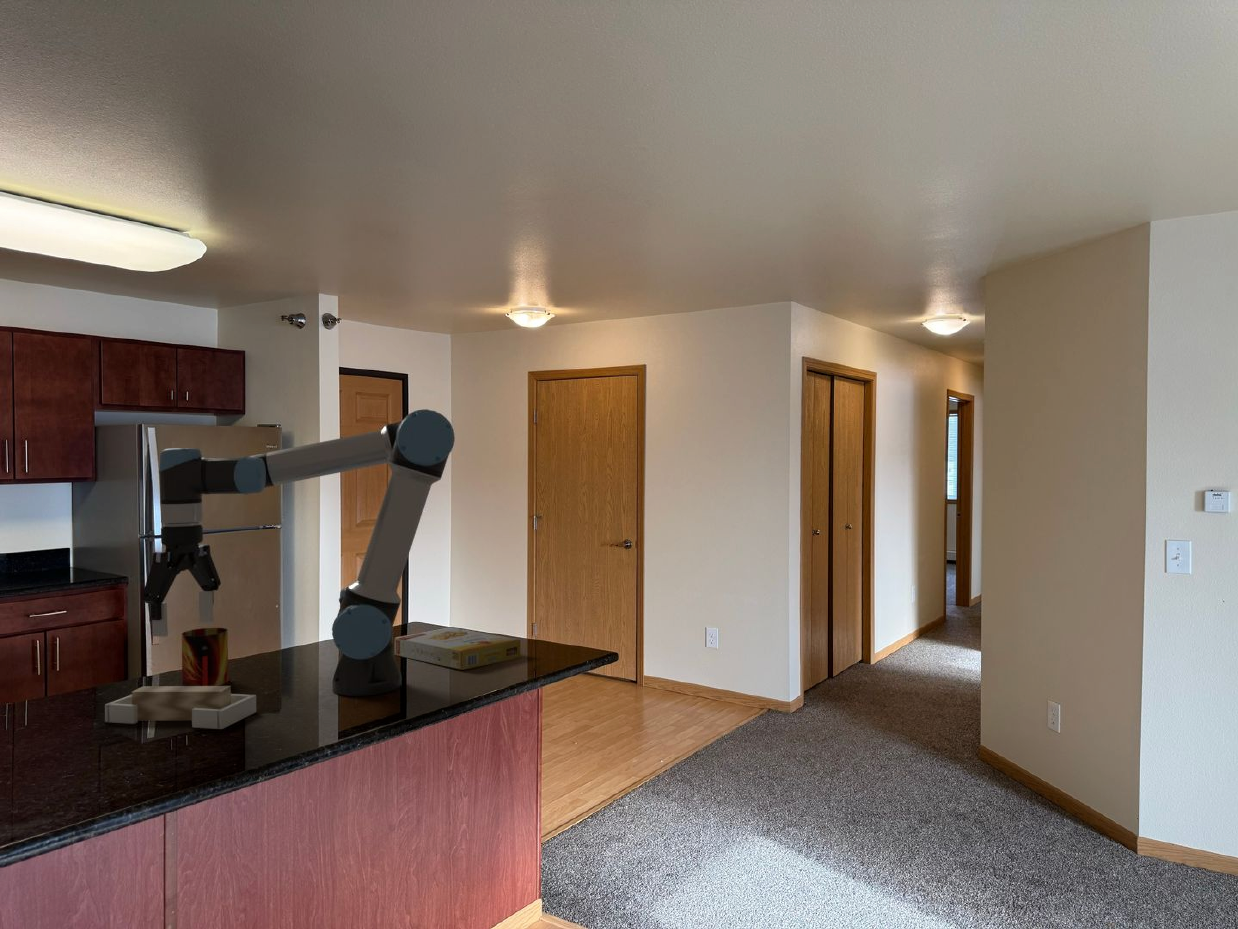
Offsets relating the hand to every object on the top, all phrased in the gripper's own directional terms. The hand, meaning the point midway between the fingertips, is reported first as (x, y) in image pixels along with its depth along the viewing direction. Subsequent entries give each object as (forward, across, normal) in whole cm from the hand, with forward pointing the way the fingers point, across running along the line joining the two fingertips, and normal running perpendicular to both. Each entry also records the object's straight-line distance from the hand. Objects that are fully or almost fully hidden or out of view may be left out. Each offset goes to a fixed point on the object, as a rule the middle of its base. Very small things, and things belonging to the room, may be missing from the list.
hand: (184, 629), depth 171 cm
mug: (+18, -23, -11) cm, 31 cm away
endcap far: (+18, 0, -10) cm, 21 cm away
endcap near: (+18, 0, +9) cm, 20 cm away
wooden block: (+18, 0, -1) cm, 18 cm away
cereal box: (+19, -58, +35) cm, 71 cm away
